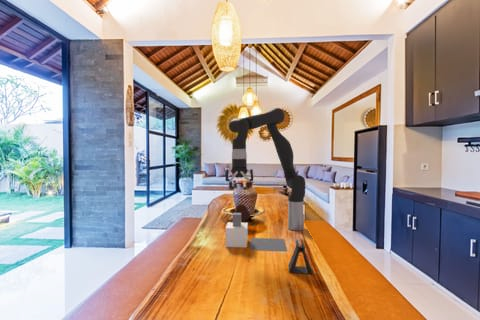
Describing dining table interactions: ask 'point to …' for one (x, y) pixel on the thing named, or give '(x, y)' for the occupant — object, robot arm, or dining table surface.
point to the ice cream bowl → (243, 212)
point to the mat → (267, 244)
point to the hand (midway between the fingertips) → (239, 189)
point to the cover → (236, 232)
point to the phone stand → (293, 261)
